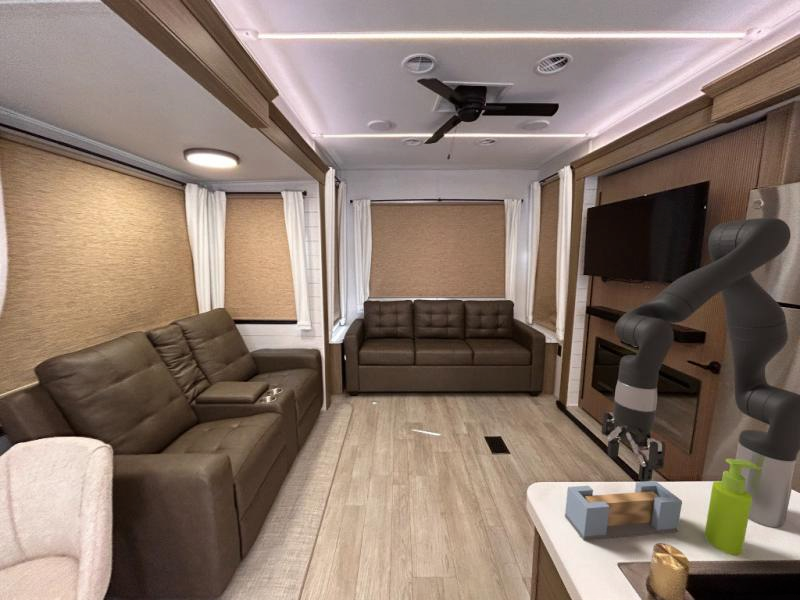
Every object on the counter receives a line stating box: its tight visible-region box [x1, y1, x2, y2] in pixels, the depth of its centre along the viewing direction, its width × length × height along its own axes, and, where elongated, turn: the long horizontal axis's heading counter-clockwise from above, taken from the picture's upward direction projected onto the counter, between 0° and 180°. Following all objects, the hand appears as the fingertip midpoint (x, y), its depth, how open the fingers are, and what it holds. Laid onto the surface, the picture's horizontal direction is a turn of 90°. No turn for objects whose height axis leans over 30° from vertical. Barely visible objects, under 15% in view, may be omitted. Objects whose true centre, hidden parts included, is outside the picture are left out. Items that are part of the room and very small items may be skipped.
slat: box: [585, 491, 659, 526], centre depth 73 cm, size 18×2×6 cm, turn 97°
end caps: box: [564, 480, 683, 541], centre depth 73 cm, size 24×6×8 cm, turn 97°
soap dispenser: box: [704, 458, 762, 556], centre depth 68 cm, size 6×7×20 cm
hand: (627, 467), depth 72 cm, fingers open, 8 cm apart
